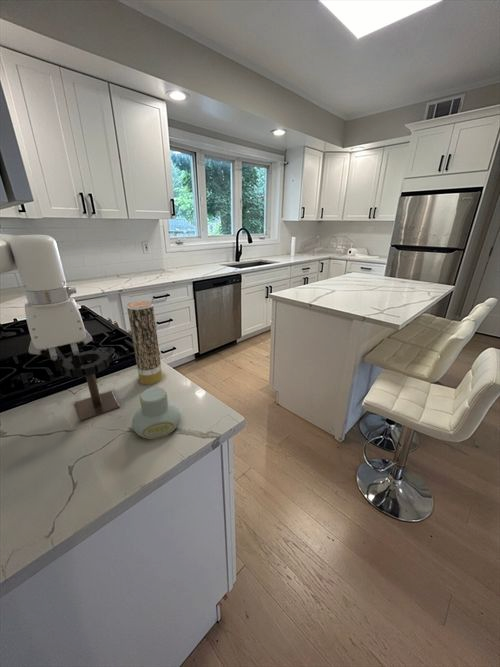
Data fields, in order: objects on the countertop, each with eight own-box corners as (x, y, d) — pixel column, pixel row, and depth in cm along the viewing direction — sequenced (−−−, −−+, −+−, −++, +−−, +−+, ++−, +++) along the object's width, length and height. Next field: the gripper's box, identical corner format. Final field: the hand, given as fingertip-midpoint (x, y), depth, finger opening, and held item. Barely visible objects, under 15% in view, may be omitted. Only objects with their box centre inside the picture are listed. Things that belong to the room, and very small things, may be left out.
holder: (82, 425, 68) (69, 381, 63) (76, 406, 75) (65, 365, 70) (120, 411, 73) (112, 369, 68) (112, 394, 80) (104, 356, 75)
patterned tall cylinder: (161, 374, 91) (152, 300, 81) (163, 384, 85) (153, 306, 75) (139, 377, 88) (127, 302, 79) (140, 389, 82) (126, 308, 73)
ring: (66, 381, 62) (64, 374, 61) (61, 364, 70) (59, 357, 69) (113, 368, 68) (112, 361, 67) (104, 353, 75) (103, 347, 74)
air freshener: (134, 447, 62) (127, 410, 58) (133, 423, 69) (127, 389, 65) (184, 434, 65) (180, 399, 62) (178, 413, 72) (175, 380, 69)
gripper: (87, 287, 67) (102, 355, 74) (1, 297, 58) (27, 374, 65) (93, 293, 61) (109, 366, 68) (-1, 306, 52) (28, 388, 59)
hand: (69, 369), depth 66 cm, fingers closed on ring, 2 cm apart
